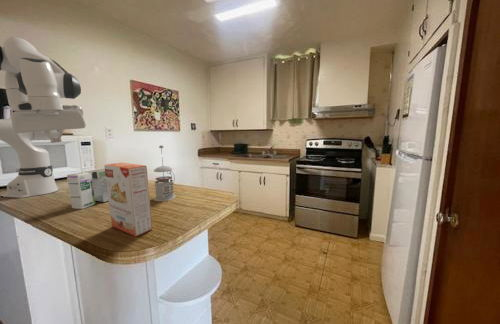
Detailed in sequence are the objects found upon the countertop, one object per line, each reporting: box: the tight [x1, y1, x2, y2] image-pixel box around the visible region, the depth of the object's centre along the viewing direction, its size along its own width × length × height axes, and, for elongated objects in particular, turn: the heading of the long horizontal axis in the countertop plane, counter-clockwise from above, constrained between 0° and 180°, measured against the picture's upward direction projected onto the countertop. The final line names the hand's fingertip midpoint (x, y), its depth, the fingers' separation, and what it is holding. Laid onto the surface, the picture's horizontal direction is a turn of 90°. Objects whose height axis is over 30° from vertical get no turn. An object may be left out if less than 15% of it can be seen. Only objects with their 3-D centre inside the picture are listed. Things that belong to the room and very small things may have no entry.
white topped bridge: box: [83, 167, 106, 179], centre depth 99 cm, size 16×10×14 cm
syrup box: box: [66, 171, 96, 210], centre depth 87 cm, size 6×6×14 cm
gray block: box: [92, 172, 109, 203], centre depth 94 cm, size 3×8×13 cm, turn 65°
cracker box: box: [104, 162, 153, 238], centre depth 65 cm, size 14×6×21 cm, turn 58°
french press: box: [153, 145, 177, 202], centre depth 97 cm, size 10×12×25 cm
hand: (56, 142), depth 80 cm, fingers closed
